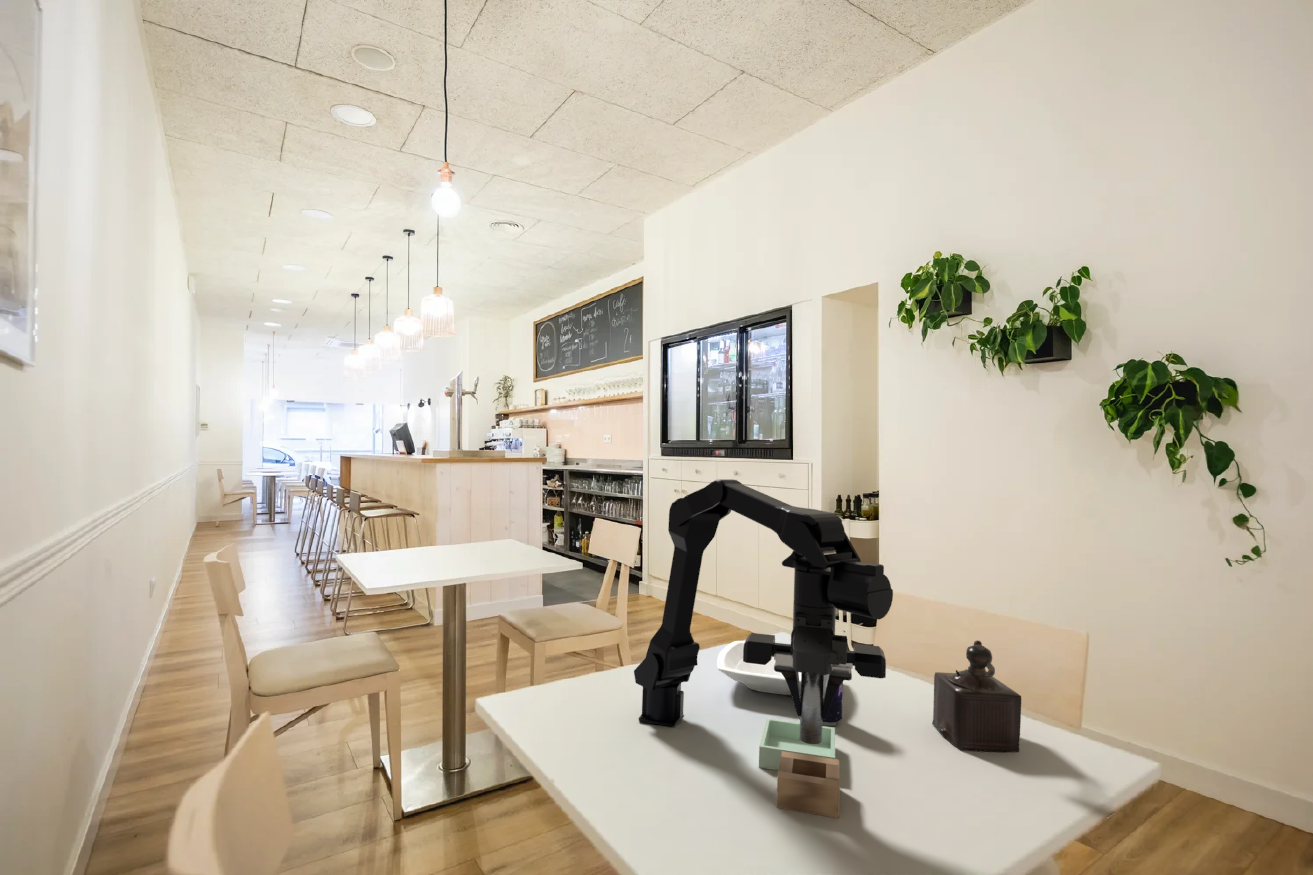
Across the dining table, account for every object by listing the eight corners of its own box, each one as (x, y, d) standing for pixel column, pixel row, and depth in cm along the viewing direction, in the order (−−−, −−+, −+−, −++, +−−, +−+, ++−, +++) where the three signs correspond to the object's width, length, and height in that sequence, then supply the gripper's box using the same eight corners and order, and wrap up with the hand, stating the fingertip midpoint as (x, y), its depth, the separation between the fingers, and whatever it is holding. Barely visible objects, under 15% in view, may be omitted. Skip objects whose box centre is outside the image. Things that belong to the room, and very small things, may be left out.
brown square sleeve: (776, 807, 87) (777, 777, 87) (781, 778, 95) (781, 751, 95) (838, 818, 85) (839, 787, 85) (838, 788, 92) (839, 759, 93)
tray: (758, 767, 98) (759, 746, 98) (765, 736, 109) (766, 718, 109) (834, 779, 95) (835, 757, 95) (834, 746, 106) (834, 727, 106)
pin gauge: (799, 742, 89) (801, 668, 89) (800, 733, 92) (802, 661, 92) (821, 745, 88) (823, 670, 88) (822, 736, 91) (824, 664, 91)
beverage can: (843, 729, 113) (845, 659, 113) (809, 725, 114) (811, 656, 114) (840, 716, 118) (842, 649, 119) (808, 712, 120) (810, 646, 120)
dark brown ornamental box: (927, 723, 116) (929, 622, 117) (989, 726, 116) (991, 624, 117) (969, 765, 101) (972, 648, 101) (1040, 768, 101) (1043, 651, 101)
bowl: (833, 716, 118) (834, 685, 118) (707, 698, 125) (708, 668, 125) (835, 677, 140) (836, 650, 140) (728, 663, 146) (728, 638, 146)
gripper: (739, 609, 85) (735, 730, 84) (890, 624, 80) (887, 752, 80) (749, 593, 96) (746, 700, 95) (883, 604, 91) (880, 717, 90)
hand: (811, 717), depth 90 cm, fingers closed on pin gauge, 3 cm apart
